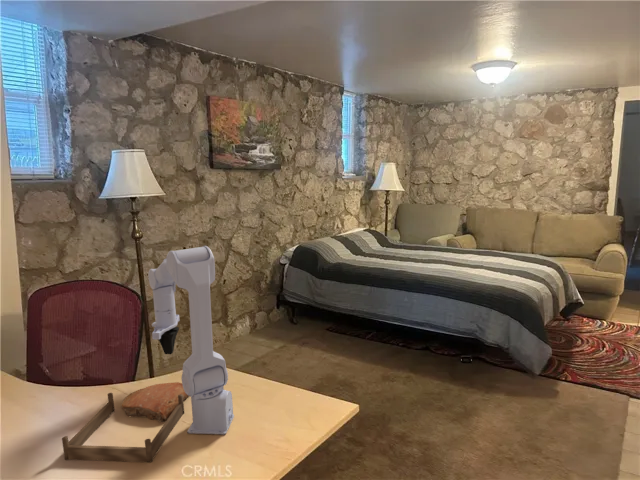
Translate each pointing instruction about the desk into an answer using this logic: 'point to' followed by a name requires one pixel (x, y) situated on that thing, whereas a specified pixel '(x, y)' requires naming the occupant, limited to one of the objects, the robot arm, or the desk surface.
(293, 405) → the desk surface
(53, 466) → the desk surface
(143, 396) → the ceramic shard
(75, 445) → the wooden square frame
